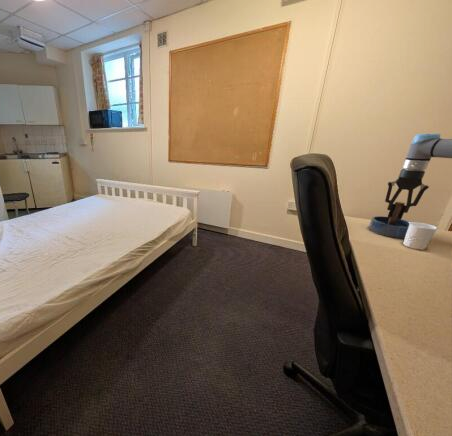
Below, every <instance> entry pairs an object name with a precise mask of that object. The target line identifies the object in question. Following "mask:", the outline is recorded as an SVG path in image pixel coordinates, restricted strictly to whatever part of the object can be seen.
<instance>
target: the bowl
mask: <svg viewBox="0 0 452 436" xmlns="http://www.w3.org/2000/svg"><path fill="white" fill-rule="evenodd" d="M389 218H390V217H388V216H385V215H384V216H383V215H376V216H372V218H371V220H370V223H369V225H368V229H369V230H371V231H372V232H374V233H376V234H377V235H382V236H385V237H390V238H395V239H405V236H406V232H407V230H408V227H409V224H410V223H411V222H412V221H408V220H406V219H398V222H397V224H396V226H394V225H389V224H387V223H388V220H389Z"/></svg>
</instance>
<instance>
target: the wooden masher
mask: <svg viewBox="0 0 452 436" xmlns="http://www.w3.org/2000/svg"><path fill="white" fill-rule="evenodd" d="M394 204H395V206H394V208H393V211H392V213H391V216H390V218H389V220H388V223H387V224H389V225H394V226H396V224H397V222H398V219H399V217H400V214H401V212H402V210H403V207H404V205H406V204H405V202H403V201H394Z"/></svg>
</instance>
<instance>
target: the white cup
mask: <svg viewBox="0 0 452 436" xmlns="http://www.w3.org/2000/svg"><path fill="white" fill-rule="evenodd" d="M410 222H411V223H410V224H409V227H408V230H407V232H406V236H405V238H404V240H403V245H404V246H405V247H407V248H410V249H415V250H421V251H423V250H426V249H427V247H428V245H429V244H430V243H431V240H432V239H433V237H434V235H435V233H436V232H437V230H438V227H436V226H435V225H432V224H429V223H424V222H417V221H410Z"/></svg>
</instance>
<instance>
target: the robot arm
mask: <svg viewBox="0 0 452 436" xmlns="http://www.w3.org/2000/svg"><path fill="white" fill-rule="evenodd" d="M432 158H439V159H442V158H443V159H452V138H441V134H440V133H418V134H416V135H414V137H413V139H412V141H411V144H410V147H409V149H408V152H407V154H406V157H405V159H404V161H403V164H402V167H401V168H402V169H401V170H400V172H399V175H398V178H397V179H396V180H393V181H388V182H387V186H388V188H387V192H386V195H385V199H384V202H385V203H388V206H387V208H386V209H387V211H388V214H387V217H390V216H391V213H392V211H393V208H394V206H395V202H396V201H397V198H398V196H399V195H400V194H401V192H402V191H404V190H406V191H408V192H407V198H406V204H405V205H404V207H403V210H402V212H401V214H400V217H399V219H402V218H403V217H404V214H405V213H406V214H407V213H408V212H409V210H410V208H411V207H416V206H418V204H419V202H420V200H421V198H422V196H423V195H424V193H425V192H426V191H427V190H428V189H429V188H430V187H429V185H428V184H424V183H423V178H424V176H425V173H426V170H427V169H428V166H429V164H430V161H431V160H432ZM395 184H396V186H397V187H398V188H397V189H396V191H395V193H394V194H393V196H392V198H391V194H392V190H393V187H394V186H395ZM418 187H419V191H418V193H417V194H416V197H415V198H414V200H413V202H412V199H413V193H414V190H415V189H417V188H418ZM390 198H391V199H390ZM402 220H403V219H402Z"/></svg>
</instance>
